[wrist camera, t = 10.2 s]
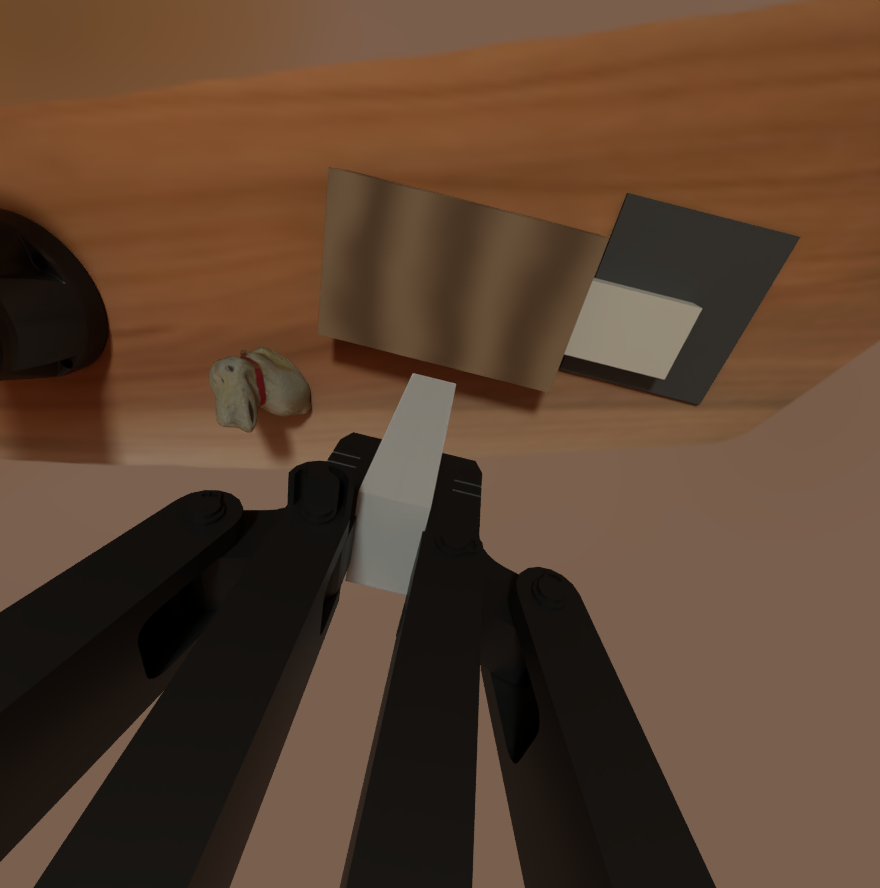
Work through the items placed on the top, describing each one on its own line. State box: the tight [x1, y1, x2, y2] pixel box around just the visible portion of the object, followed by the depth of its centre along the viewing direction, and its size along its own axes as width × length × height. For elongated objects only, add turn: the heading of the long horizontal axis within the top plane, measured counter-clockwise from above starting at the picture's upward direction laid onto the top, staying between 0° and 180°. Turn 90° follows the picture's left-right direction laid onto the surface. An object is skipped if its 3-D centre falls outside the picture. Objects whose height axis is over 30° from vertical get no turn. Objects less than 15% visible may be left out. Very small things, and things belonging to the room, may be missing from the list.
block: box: [564, 278, 702, 380], centre depth 35 cm, size 9×6×2 cm, turn 78°
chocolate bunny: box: [209, 348, 312, 432], centre depth 38 cm, size 6×8×10 cm
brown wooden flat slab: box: [318, 167, 609, 393], centre depth 34 cm, size 20×12×4 cm, turn 78°
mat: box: [560, 193, 800, 405], centre depth 35 cm, size 13×14×1 cm
